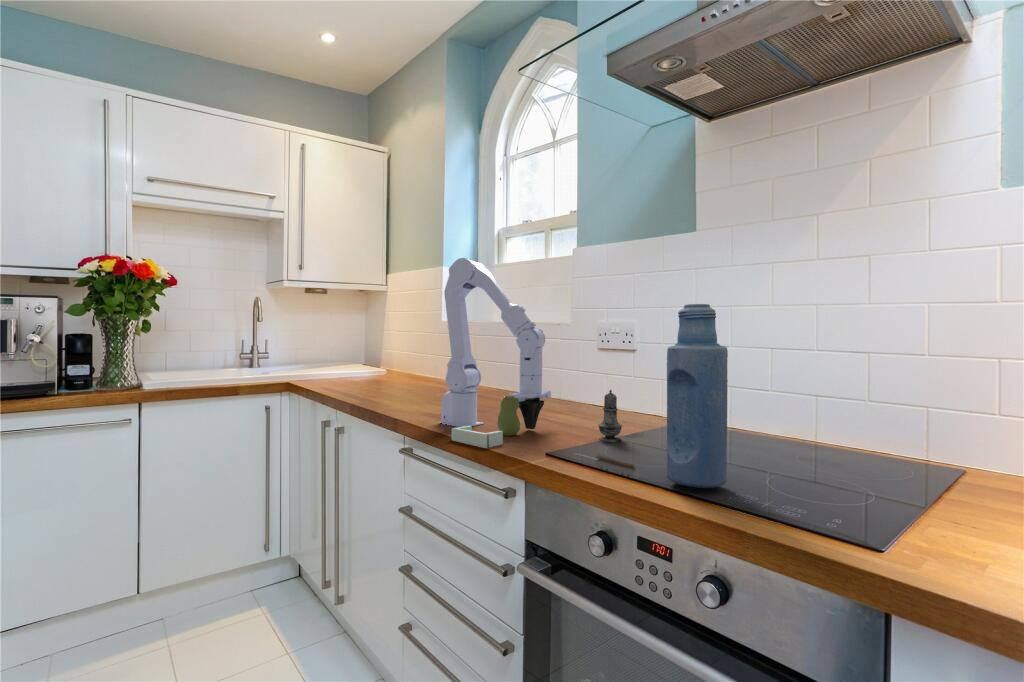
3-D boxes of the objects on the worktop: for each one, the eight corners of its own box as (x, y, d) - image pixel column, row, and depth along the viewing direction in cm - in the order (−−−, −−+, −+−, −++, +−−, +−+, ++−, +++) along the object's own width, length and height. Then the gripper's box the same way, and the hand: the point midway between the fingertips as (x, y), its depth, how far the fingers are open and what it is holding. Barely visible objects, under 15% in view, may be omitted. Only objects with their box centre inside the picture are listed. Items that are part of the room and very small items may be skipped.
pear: (493, 435, 131) (493, 395, 131) (510, 433, 134) (510, 393, 134) (508, 439, 127) (508, 397, 127) (524, 436, 130) (525, 395, 130)
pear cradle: (451, 441, 123) (451, 428, 123) (468, 438, 127) (468, 425, 127) (485, 448, 116) (485, 434, 116) (502, 444, 120) (502, 431, 120)
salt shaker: (622, 442, 123) (623, 391, 123) (596, 441, 125) (597, 390, 125) (622, 438, 129) (623, 388, 129) (598, 437, 130) (598, 388, 130)
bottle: (739, 483, 89) (741, 304, 89) (700, 492, 84) (702, 301, 84) (692, 471, 97) (694, 306, 97) (654, 478, 92) (656, 304, 92)
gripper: (524, 377, 128) (524, 434, 128) (560, 374, 139) (559, 427, 139) (502, 375, 133) (502, 430, 133) (539, 373, 143) (538, 423, 143)
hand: (530, 428), depth 136 cm, fingers closed
